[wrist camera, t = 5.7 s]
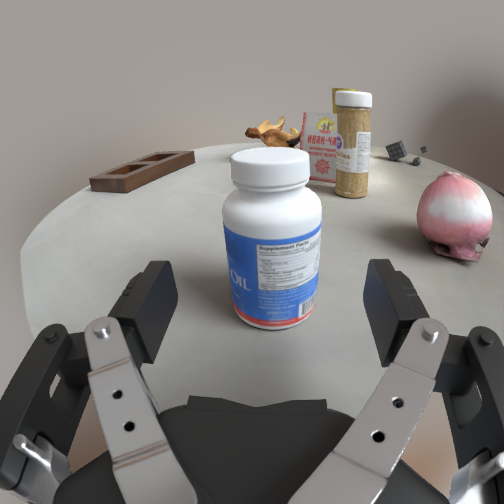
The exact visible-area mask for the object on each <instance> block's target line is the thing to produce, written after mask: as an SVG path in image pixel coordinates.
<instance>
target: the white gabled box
mask: <svg viewBox="0 0 504 504" xmlns="http://www.w3.org/2000/svg"><path fill="white" fill-rule="evenodd" d="M336 145H337V114H330V113H312V112H304V118H303V125H302V131H301V137H300V150H303V151H306V152H307V153H308V154H309V162H310V177H309V179H315V180H321V181H327V182H334V183H336Z"/></svg>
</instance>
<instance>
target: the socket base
mask: <svg viewBox="0 0 504 504" xmlns="http://www.w3.org/2000/svg"><path fill="white" fill-rule="evenodd" d="M193 163H195V156H194V151H169V152H155V153H153V154H150V155H147V156H144V157H141V158H139V159H136V160H134V161H131V162H128V163H126V164H123V165H121V166H118V167H116V168H113V169H110V170H108V171H106V172H103V173H101V174H99V175H96V176H94V177H92V178H89V180H90V184H91V189H92V191H102V192H118V193H128V192H130V191H132V190H134V189H136V188H138V187H141V186H143V185H145V184H147V183H149V182H151V181H153V180H156V179H158V178H160V177H162V176H165V175H167V174H169V173H171V172H174V171H176V170H178V169H181V168H183V167H185V166H188V165H190V164H193Z"/></svg>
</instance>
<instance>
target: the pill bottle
mask: <svg viewBox="0 0 504 504" xmlns="http://www.w3.org/2000/svg"><path fill="white" fill-rule="evenodd" d="M309 177H310V162H309V154H308V153H307V152H306V151H303V150H299V149H294V148H287V147H263V148H253V149H247V150H243V151H239V152H237V153H234V154H233V155H232V156H231V178H232V180H233V184H234V185H235V186H237V188H238V189H237V190H235V191H233V192H232V193H231V194H230V195H229V196H228V197H227V198H226V199H225V201H224V204H223V208H222V213H223V226H224V234H225V242H226V250H227V258H228V267H229V275H230V282H231V290H232V299H233V304H234V308H235V311H236V312H237V314H238V316H239V317H240V318H241V319H242V320H244V321H245V322H247V323H248V324H250V325H252V326H255V327H258V328H262V329H271V330H276V329H285V328H290V327H293V326H296V325H298V324H300V323H301V322H303V321H304V320H305V319H306V318H307V317H309V315H310V314H311V313H312V311H313V309H314V306H315V302H316V295H317V282H318V269H319V254H320V238H321V218H322V206H321V202H320V199H319V198H318V196H317V195H316V194H315V193H314V192H313V191H312V190H310V189H309V188H307V187H305V184H307V183H308V181H309Z"/></svg>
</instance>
